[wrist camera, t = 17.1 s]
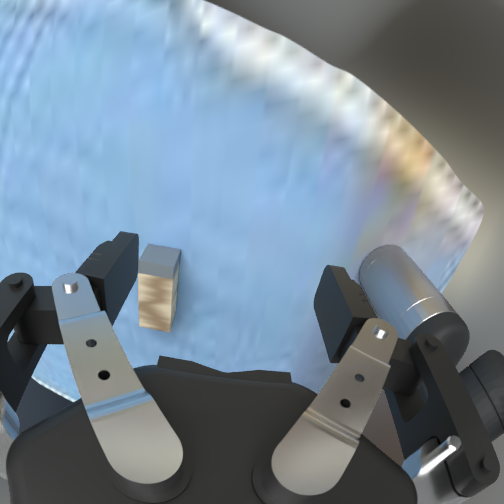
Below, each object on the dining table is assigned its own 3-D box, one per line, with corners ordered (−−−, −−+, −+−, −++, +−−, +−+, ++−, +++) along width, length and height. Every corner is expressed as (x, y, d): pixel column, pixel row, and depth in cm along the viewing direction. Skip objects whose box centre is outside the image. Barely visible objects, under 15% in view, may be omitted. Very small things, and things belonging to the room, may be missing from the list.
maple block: (139, 326, 44) (138, 260, 38) (147, 307, 48) (148, 244, 43) (170, 332, 44) (173, 266, 39) (175, 312, 49) (180, 249, 43)
